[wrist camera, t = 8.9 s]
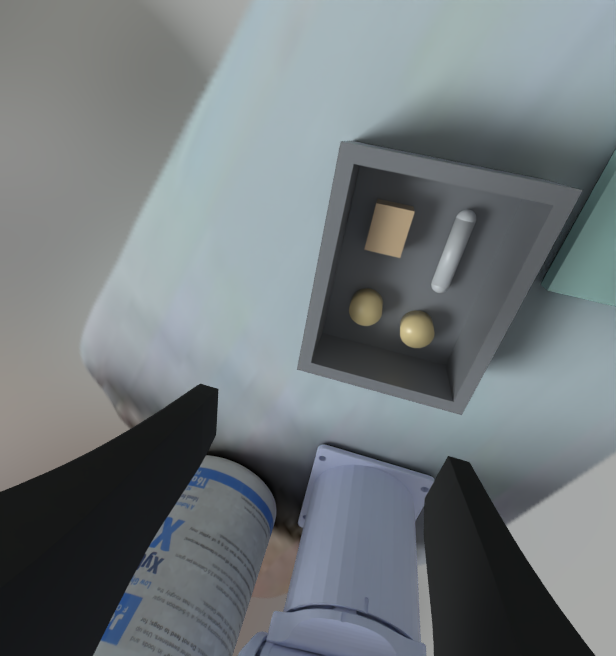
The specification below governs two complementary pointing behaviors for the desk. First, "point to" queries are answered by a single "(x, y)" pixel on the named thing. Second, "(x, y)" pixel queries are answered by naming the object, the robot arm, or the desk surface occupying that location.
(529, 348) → the desk surface
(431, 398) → the parts tub
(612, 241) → the lid
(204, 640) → the supplement tub
